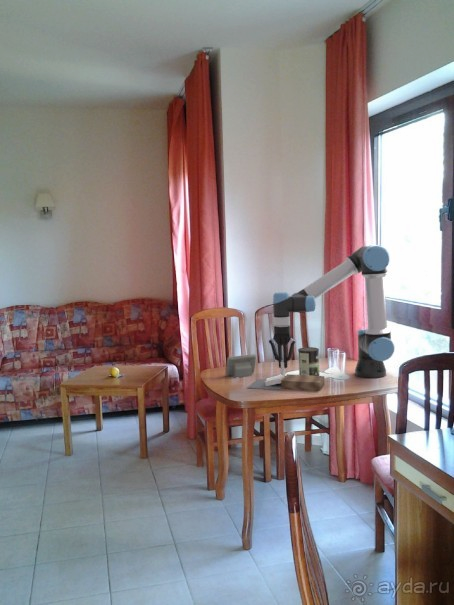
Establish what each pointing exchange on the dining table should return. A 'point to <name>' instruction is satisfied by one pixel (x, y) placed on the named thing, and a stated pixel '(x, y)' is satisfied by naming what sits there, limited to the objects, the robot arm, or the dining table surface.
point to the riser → (302, 382)
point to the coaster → (274, 380)
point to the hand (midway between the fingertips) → (283, 374)
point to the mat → (264, 385)
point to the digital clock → (241, 365)
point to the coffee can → (309, 361)
